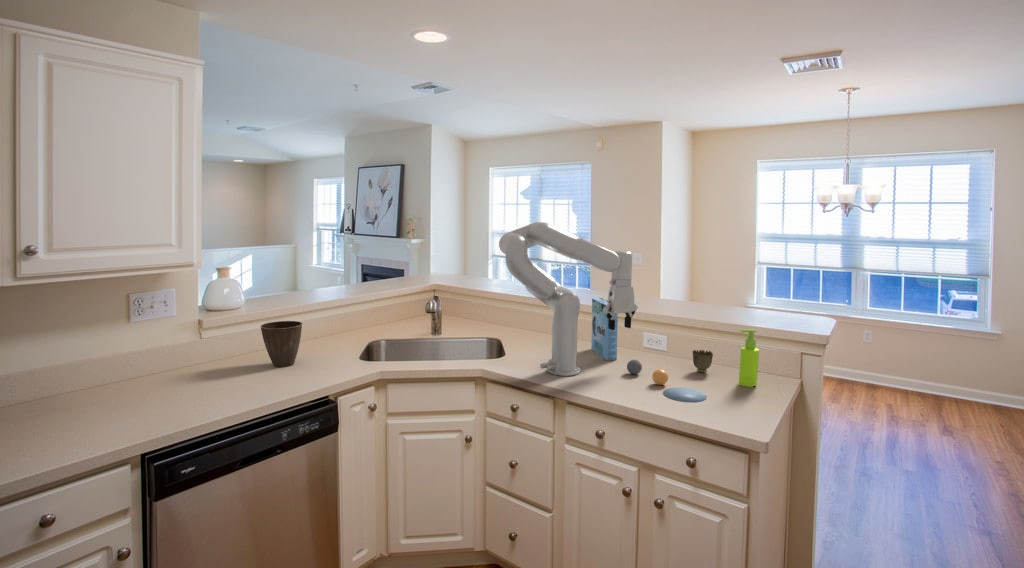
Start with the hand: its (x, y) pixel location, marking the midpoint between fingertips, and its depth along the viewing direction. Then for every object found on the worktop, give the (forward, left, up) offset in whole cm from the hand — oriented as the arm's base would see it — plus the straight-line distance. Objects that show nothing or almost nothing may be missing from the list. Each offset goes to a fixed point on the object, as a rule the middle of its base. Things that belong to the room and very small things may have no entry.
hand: (619, 328), depth 217 cm
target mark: (0, -36, -16) cm, 39 cm away
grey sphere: (0, -10, -13) cm, 16 cm away
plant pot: (-116, +61, -16) cm, 132 cm away
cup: (+25, -19, -16) cm, 35 cm away
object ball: (0, -24, -13) cm, 27 cm away
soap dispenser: (+28, -37, -16) cm, 49 cm away
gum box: (+7, +19, -16) cm, 26 cm away
